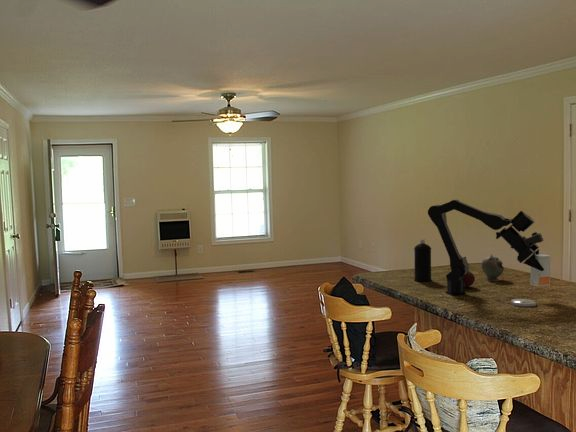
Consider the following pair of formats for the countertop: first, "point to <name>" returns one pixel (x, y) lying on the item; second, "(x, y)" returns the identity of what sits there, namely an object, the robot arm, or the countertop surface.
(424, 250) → the aerosol can
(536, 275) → the skincare box
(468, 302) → the countertop surface
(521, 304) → the silver round plate
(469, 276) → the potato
